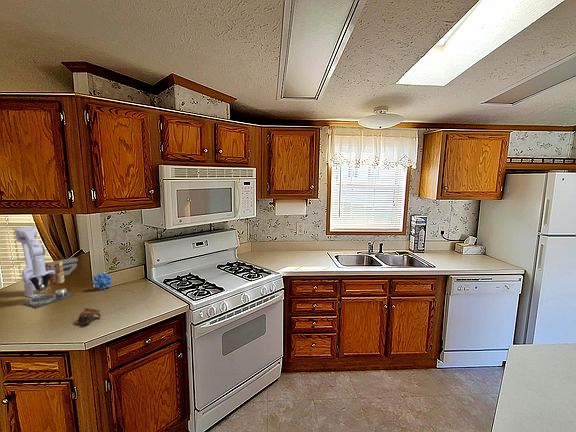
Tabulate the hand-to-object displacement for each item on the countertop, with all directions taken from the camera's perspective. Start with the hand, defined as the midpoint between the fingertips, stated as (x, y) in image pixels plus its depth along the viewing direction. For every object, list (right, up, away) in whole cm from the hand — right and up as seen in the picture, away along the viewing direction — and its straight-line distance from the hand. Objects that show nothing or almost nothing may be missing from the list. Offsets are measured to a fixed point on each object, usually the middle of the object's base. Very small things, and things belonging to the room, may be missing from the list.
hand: (41, 288), depth 174 cm
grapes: (+25, -6, +20) cm, 32 cm away
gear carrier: (+1, -8, +4) cm, 9 cm away
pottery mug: (+45, -12, -24) cm, 52 cm away
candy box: (-18, -5, +34) cm, 38 cm away
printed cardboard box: (-29, -3, +49) cm, 58 cm away
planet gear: (0, -2, 0) cm, 2 cm away
